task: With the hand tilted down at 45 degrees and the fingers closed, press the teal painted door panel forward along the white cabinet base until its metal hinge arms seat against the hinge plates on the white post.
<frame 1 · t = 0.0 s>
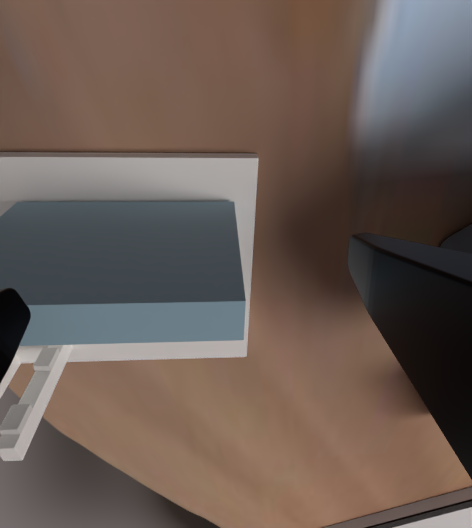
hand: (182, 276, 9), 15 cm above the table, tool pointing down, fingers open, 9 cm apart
door panel: (114, 271, 19), point 6 cm above the table, slide at 0.0 cm
cd case: (425, 526, 68), on the table
cabinet base: (134, 209, 23), on the table
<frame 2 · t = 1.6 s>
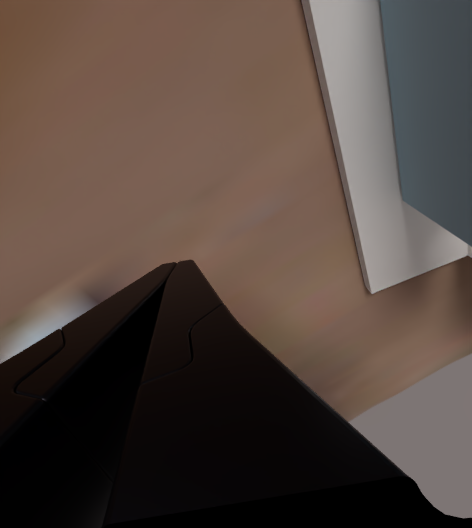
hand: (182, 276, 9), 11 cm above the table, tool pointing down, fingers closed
cabinet base: (397, 62, 17), on the table
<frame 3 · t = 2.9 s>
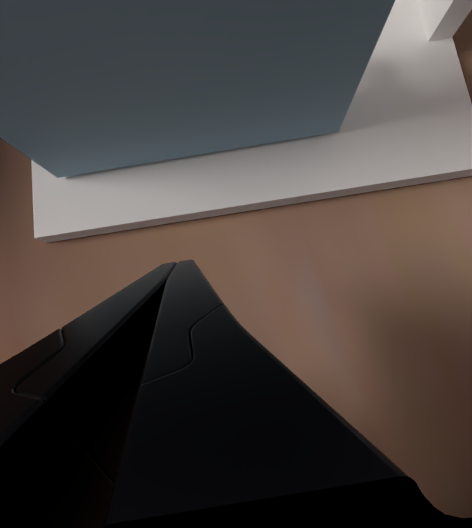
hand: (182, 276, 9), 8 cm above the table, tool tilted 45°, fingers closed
door panel: (162, 33, 12), point 6 cm above the table, slide at 0.0 cm
cabinet base: (197, 146, 18), on the table
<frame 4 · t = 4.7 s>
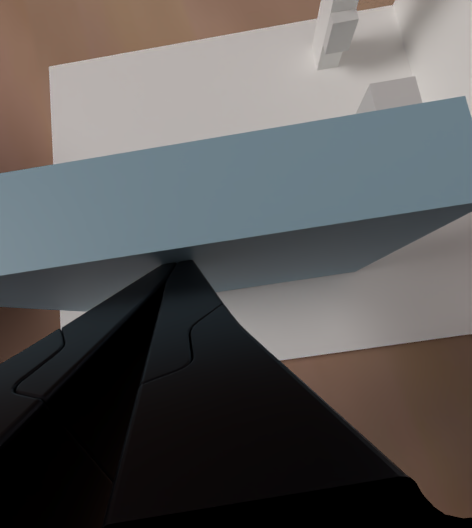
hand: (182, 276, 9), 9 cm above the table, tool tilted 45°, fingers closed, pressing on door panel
door panel: (194, 227, 12), point 6 cm above the table, slide at 1.0 cm, touching gripper
cabinet base: (220, 290, 18), on the table
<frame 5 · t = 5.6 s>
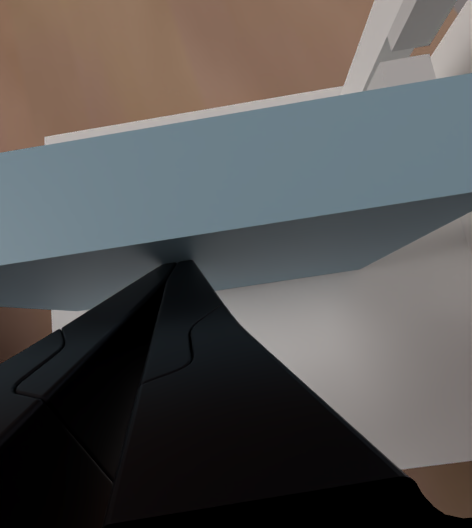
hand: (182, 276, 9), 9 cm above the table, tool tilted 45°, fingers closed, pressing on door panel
door panel: (190, 221, 12), point 6 cm above the table, slide at 6.2 cm, touching gripper
cabinet base: (231, 391, 17), on the table
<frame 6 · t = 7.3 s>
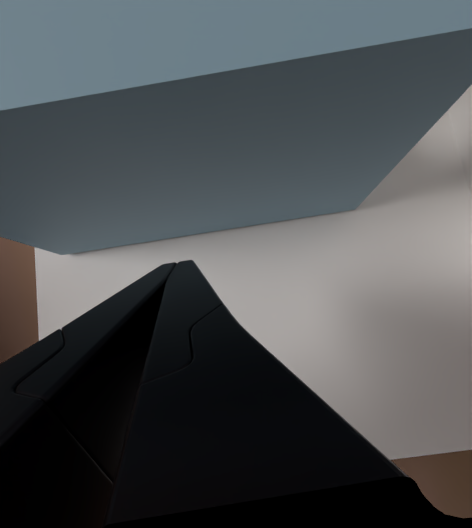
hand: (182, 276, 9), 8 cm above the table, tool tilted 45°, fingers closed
door panel: (174, 137, 11), point 6 cm above the table, slide at 8.0 cm
cabinet base: (227, 377, 16), on the table
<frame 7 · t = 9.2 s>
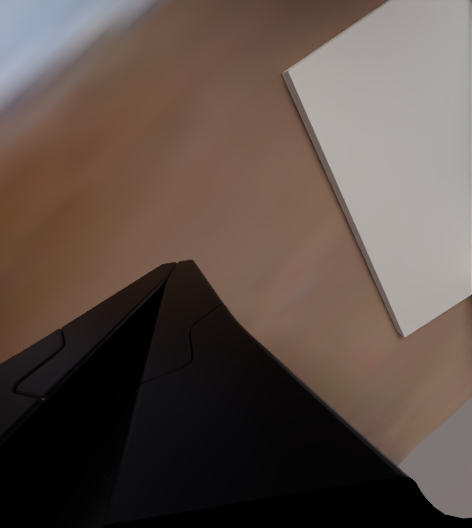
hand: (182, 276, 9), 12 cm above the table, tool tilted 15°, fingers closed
cabinet base: (388, 165, 22), on the table
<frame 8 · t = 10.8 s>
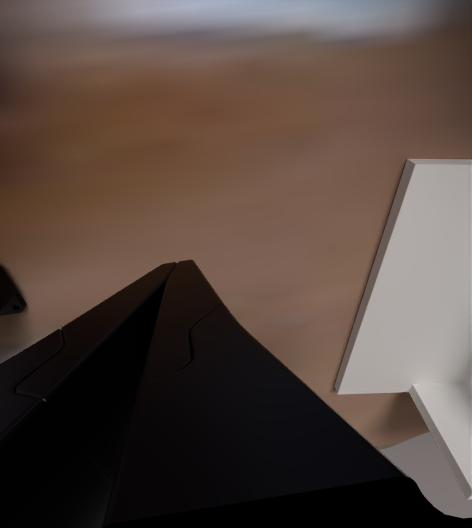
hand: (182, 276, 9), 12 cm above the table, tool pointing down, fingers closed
cabinet base: (422, 272, 25), on the table
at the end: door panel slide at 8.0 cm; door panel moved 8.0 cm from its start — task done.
